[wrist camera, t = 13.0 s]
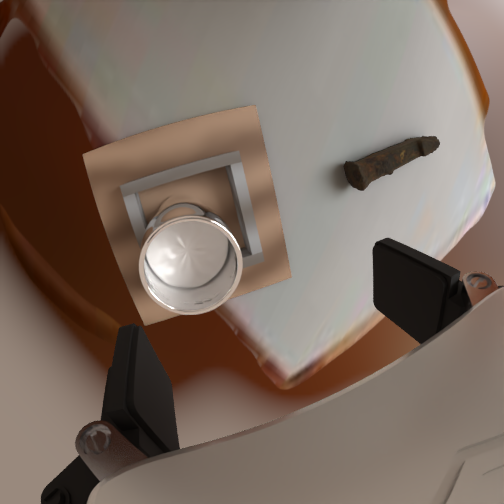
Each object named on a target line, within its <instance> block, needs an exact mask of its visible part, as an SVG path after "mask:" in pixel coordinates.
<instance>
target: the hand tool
mask: <svg viewBox="0 0 504 504" xmlns="http://www.w3.org/2000/svg"><path fill="white" fill-rule="evenodd" d="M439 145H440V142H439V140H438V139H437V137H435V136H429V137H425V136H422V137H416V138H410V139H406V140H405V142H402V143H400V144H397V145H394V146H391V147H388V148H387V149H385V150H382V151H379V152H376V153H373V154H371V155H369V156H367V157H365V158H363V159H361V160H359V161H356V162H350V161H349V162H347V161H346V162H345V164H344V169H345V173H346V176H347V179H348V181H349V183H350V184H351V186H352V187H354V188H356V189H358V190H360V191H364V189H366V187H367V186H368V185H369V183H371V182H372V181H374V180H376V179H378V178H380V177H381V176H385V175H391V174H392V173H393V171H394V170H395V169H397V168H399V167H401V166H403V165H405V164H407V163H409V162H410V161H412V160H414V159H416V158H418V157H420V156H427V155H428V154H430V153H433V151H435V150H436V149H437V148H438V147H439Z"/></svg>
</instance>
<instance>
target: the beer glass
mask: <svg viewBox="0 0 504 504" xmlns="http://www.w3.org/2000/svg"><path fill="white" fill-rule="evenodd" d="M242 269H243V260H242V254H241V250H240V247H239V245H238V243H237V241H236V239H235V238H234V236H233V234H232V232H231V230H230V228H229V227H228V225H227V224H226V222H225V221H224V220H223V218H222V217H221V216H220V215H219V214H218V213H216V212H215V211H214V210H213V209H211V208H210V207H208V206H206V205H205V204H204V203H203V202H202V201H201V200H200V199H198V198H197V197H195V196H193V195H190V194H176V195H173V196H171V197H169V198H167V199H166V200H165V201H164V202H163V203H162V204H161V205H160V207H159V208H158V210H157V213H156V214H155V215H154V217H153V218H152V219H151V221H150V222H149V224H148V226H147V228H146V230H145V232H144V235H143V239H142V243H141V249H140V257H139V275H140V279H141V282H142V285H143V287H144V289H145V290H146V292H147V294H148V295H149V296H150V297H151V298H152V300H154V301H155V302H156V303H157V304H158V305H160V306H161V307H163V308H165V309H166V310H169V311H171V312H174V313H178V314H184V315H195V314H201V313H205V312H208V311H211V310H213V309H215V308H217V307H219V306H220V305H222V304H223V303H224V302H225V301H226V300H227V299H228V298H229V297H230V296H231V295H232V294H233V293H234V291H235V289H236V288H237V286H238V284H239V281H240V279H241V275H242Z"/></svg>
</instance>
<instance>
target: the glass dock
mask: <svg viewBox="0 0 504 504" xmlns="http://www.w3.org/2000/svg"><path fill="white" fill-rule="evenodd" d="M83 158H84V162H85V166H86V170H87V174H88V177H89V181H90V185H91V188H92V191H93V195H94V198H95V201H96V204H97V208H98V211H99V214H100V217H101V220H102V223H103V226H104V229H105V231H106V234H107V237H108V240H109V242H110V245H111V248H112V250H113V253H114V256H115V258H116V261H117V263H118V266H119V268H120V271H121V273H122V276H123V278H124V280H125V283H126V285H127V288H128V290H129V292H130V294H131V297H132V299H133V301H134V303H135V305H136V308H137V310H138V312H139V314H140V316H141V318H142V320H143V323H144V324H145V326H146V325H149V324H152V323H156V322H159V321H162V320H166V319H169V318H172V317H175V316H178V315H182V314H178V313H174V312H171V311H169V310H166V309H165V308H163V307H161V306H160V305H158V304H157V303H156V302H155V301H154V300H152V298H151V297H150V296H149V295H148V294H147V292H146V290H145V289H144V287H143V285H142V282H141V279H140V275H139V257H140V249H141V243H142V239H143V235H144V232H145V230H146V228H147V226H148V224H149V222H150V221H151V219H152V218H153V217H154V215H155V214H156V213H157V210H158V208H159V207H160V205H161V204H162V203H163V202H164V201H165V200H166V199H167V198H169V197H171V196H173V195H176V194H190V195H193V196H195V197H197V198H198V199H200V200H201V201H202V202H203V203H204V204H205V205H206V206H208V207H210V208H211V209H213V210H214V211H215V212H216V213H218V214H219V215H220V216H221V217H222V218H223V220H224V221H225V222H226V224H227V225H228V227H229V228H230V230H231V232H232V234H233V236H234V238H235V239H236V241H237V243H238V245H239V247H240V250H241V254H242V260H243V269H242V275H241V279H240V281H239V284H238V286H237V288H236V289H235V291H234V293H233V294H232V295H231V296H230V297H229V298H228V299H231V298H234V297H237V296H240V295H243V294H246V293H248V292H251V291H254V290H257V289H260V288H263V287H266V286H269V285H272V284H274V283H277V282H280V281H283V280H286V279H288V278H291V271H290V266H289V260H288V255H287V250H286V245H285V239H284V234H283V229H282V224H281V219H280V214H279V209H278V204H277V199H276V195H275V190H274V185H273V180H272V176H271V171H270V166H269V162H268V157H267V153H266V148H265V144H264V139H263V135H262V131H261V126H260V122H259V118H258V114H257V109H256V105H252V106H246V107H241V108H235V109H230V110H225V111H221V112H216V113H211V114H207V115H203V116H199V117H195V118H191V119H187V120H183V121H179V122H175V123H172V124H168V125H165V126H161V127H158V128H155V129H151V130H148V131H145V132H142V133H139V134H136V135H133V136H130V137H127V138H124V139H121V140H119V141H116V142H113V143H110V144H108V145H105V146H102V147H100V148H97V149H95V150H92V151H90V152H87V153H85V154H83ZM228 299H227V300H228Z"/></svg>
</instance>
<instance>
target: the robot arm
mask: <svg viewBox="0 0 504 504" xmlns="http://www.w3.org/2000/svg"><path fill="white" fill-rule="evenodd" d="M459 277H460V271H459V270H457V269H455V268H453V267H451V266H449V265H447V264H445V263H442V262H441V261H439V260H436V259H434V258H432V257H430V256H428V255H426V254H424V253H422V252H419V251H417V250H415V249H413V248H411V247H408V246H406V245H404V244H402V243H400V242H397V241H395V240H393V239H390V238H385V239H383V240H380V241H377V242H376V243H375V246H374V247H373V302H374V305H375V307H376V309H377V310H379V311H380V312H381V313H382V314H384V315H385V316H386V317H388V318H389V319H390V320H391V321H393V322H394V323H395V324H396V325H398V326H399V327H400V328H401V329H403V330H404V331H405V332H406V333H408V334H409V335H410V336H411V337H413V338H414V339H415V340H416V341H418V342H419V343H420V344H421V345H420V346H418V347H416V348H415V349H413V350H412V351H410V352H409V353H407V354H405V355H404V356H402V357H401V358H399V359H397V360H396V361H394V362H393V363H391V364H389V365H387V366H386V367H384V368H382V369H381V370H379V371H377V372H375V373H374V374H372V375H370V376H368V377H366V378H364V379H363V380H361V381H359V382H357V383H355V384H353V385H351V386H349V387H347V388H345V389H343V390H341V391H339V392H337V393H335V394H333V395H331V396H329V397H327V398H325V399H323V400H320V401H319V402H316V403H314V404H311V405H309V406H307V407H305V408H302V409H300V410H298V411H295V412H293V413H290V414H288V415H286V416H283V417H280V418H278V419H275V420H272V421H270V422H267V423H264V424H261V425H259V426H256V427H253V428H250V429H247V430H244V431H241V432H238V433H235V434H232V435H229V436H225V437H222V438H219V439H216V440H212V441H208V442H205V443H201V444H197V445H194V446H189V447H186V448H182V449H180V447H179V441H178V434H177V426H176V418H175V410H174V401H173V392H172V384H171V381H170V379H169V377H168V375H167V373H166V371H165V370H164V368H163V366H162V364H161V362H160V361H159V359H158V357H157V355H156V353H155V351H154V350H153V348H152V346H151V344H150V342H149V340H148V338H147V336H146V334H145V332H144V330H143V328H142V327H141V326H136V325H135V324H134V323H133V324H130V325H127V326H123V327H120V328H119V331H118V336H117V341H116V346H115V351H114V356H113V362H112V366H111V367H110V368H109V370H108V375H107V382H106V387H105V393H104V400H103V408H102V416H101V420H100V421H93V422H91V423H89V424H87V425H86V426H84V427H83V428H82V429H81V430H80V431H79V433H78V435H77V437H76V441H75V447H76V450H77V452H78V454H79V456H78V457H77V458H76V459H75V460H74V461H72V463H70V464H69V465H68V466H67V467H66V468H65V469H64V470H63V471H62V472H61V473H60V474H59V475H58V476H57V477H56V478H54V479H53V481H52V482H50V483H49V484H48V485H47V486H46V487H45V489H44V490H43V492H42V495H41V504H504V286H497V284H496V282H495V280H494V279H493V278H492V277H491V276H490V275H488V274H486V273H483V272H477V271H474V272H469V273H466V274H465V275H464V277H463V280H462V282H461V281H459Z"/></svg>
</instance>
